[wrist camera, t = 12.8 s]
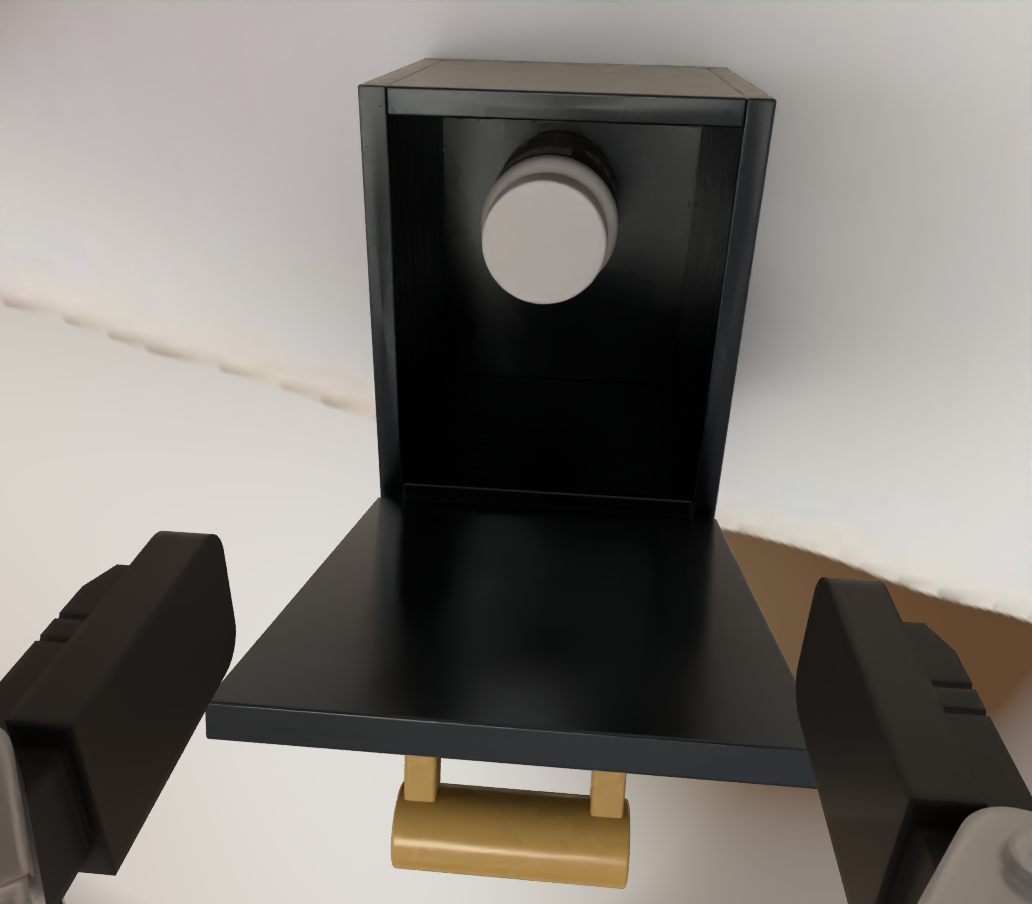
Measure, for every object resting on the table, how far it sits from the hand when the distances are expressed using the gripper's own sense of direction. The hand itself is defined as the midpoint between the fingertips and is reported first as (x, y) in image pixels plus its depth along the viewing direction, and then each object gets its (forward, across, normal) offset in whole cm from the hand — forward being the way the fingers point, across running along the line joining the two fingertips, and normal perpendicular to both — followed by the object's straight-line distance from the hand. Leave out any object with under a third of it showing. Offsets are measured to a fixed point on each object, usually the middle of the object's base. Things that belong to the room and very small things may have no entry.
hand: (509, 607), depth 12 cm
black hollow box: (+28, 0, +2) cm, 28 cm away
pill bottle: (+27, 0, 0) cm, 27 cm away
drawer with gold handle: (+9, 0, +6) cm, 11 cm away
